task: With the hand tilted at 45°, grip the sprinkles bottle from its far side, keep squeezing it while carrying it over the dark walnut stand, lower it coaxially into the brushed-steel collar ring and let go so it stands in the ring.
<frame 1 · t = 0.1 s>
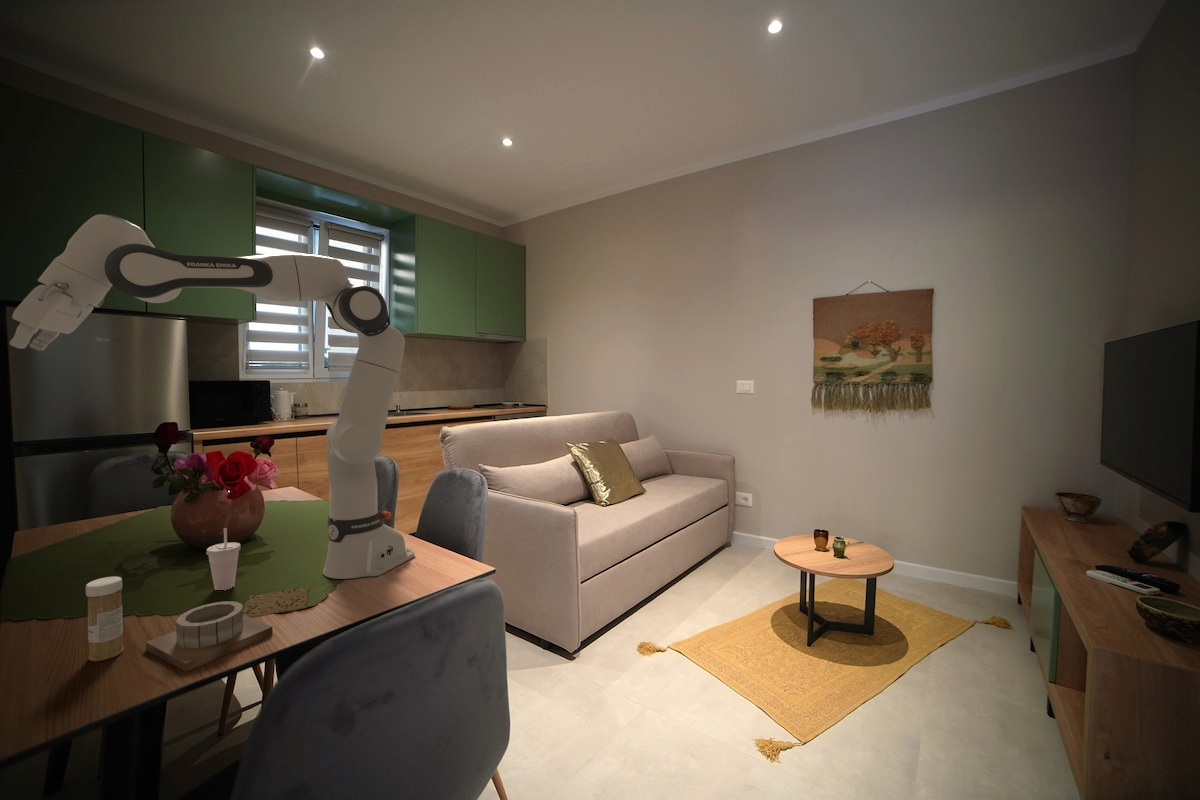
hand: (26, 348, 95), 54 cm above the table, tool tilted 30°, fingers open, 8 cm apart
collar stand: (211, 641, 94), on the table
sprinkles bottle: (106, 656, 89), on the table
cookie: (276, 605, 110), on the table
smoothie: (224, 588, 117), on the table
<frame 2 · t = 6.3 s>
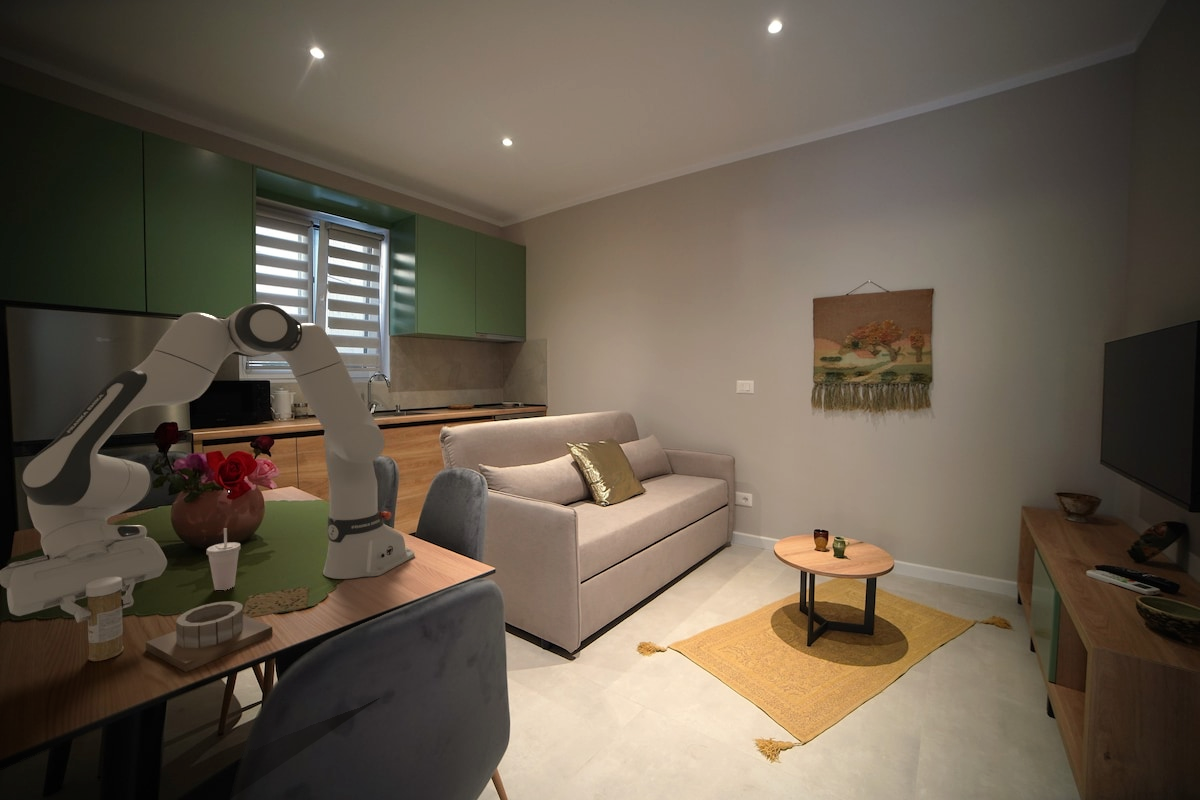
hand: (106, 612, 88), 8 cm above the table, tool tilted 45°, fingers closed on sprinkles bottle, 4 cm apart
sprinkles bottle: (106, 656, 89), on the table, touching gripper
everything else where it was.
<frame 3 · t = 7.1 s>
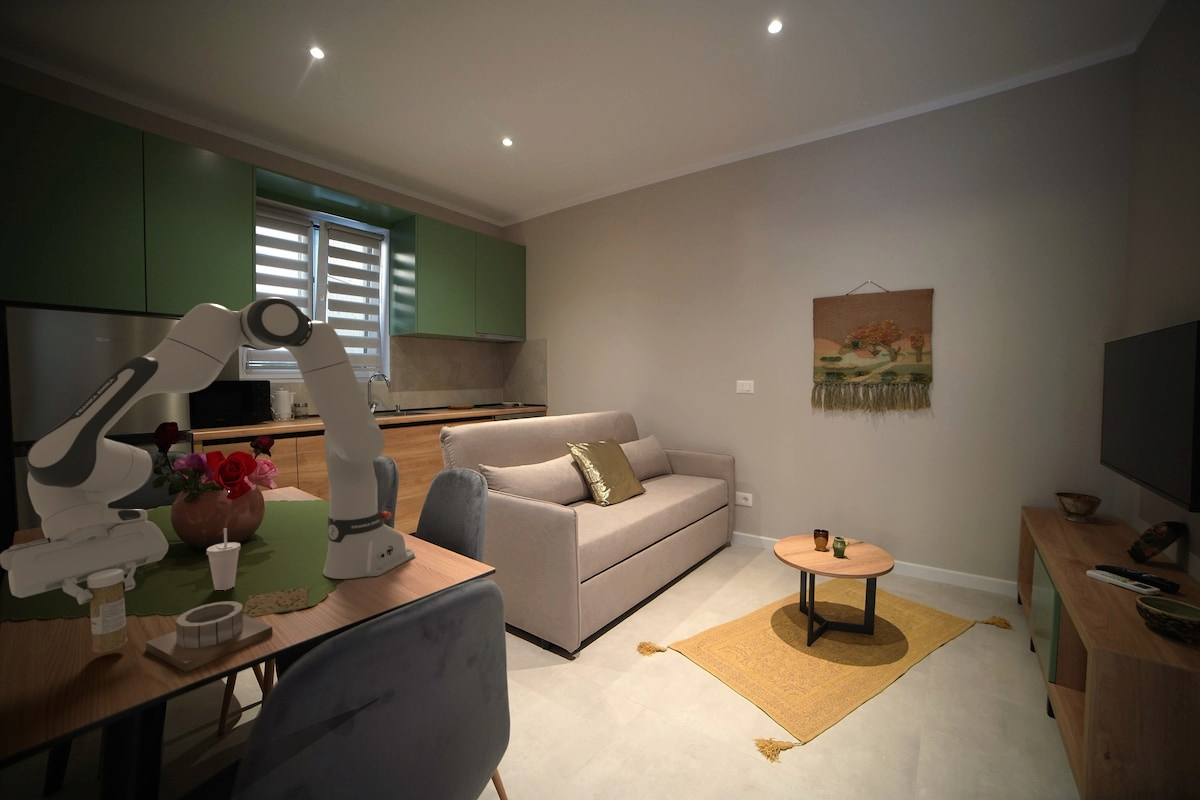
hand: (108, 594, 88), 11 cm above the table, tool tilted 45°, fingers closed on sprinkles bottle, 4 cm apart
sprinkles bottle: (110, 647, 89), point 1 cm above the table, touching gripper
everything else where it was.
when the fingers open (11 cm above the table, at t = 11.5 s): sprinkles bottle stays where it is, resting on collar stand.
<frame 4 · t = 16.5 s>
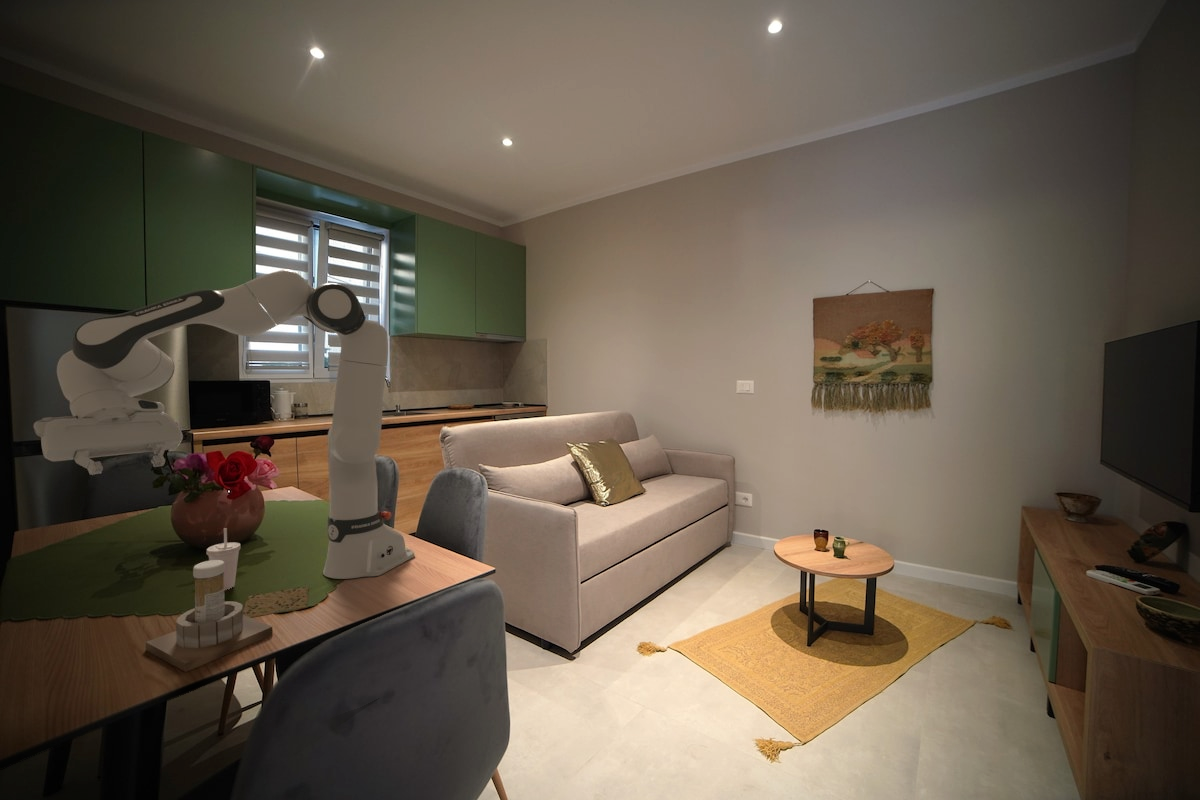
hand: (129, 468, 97), 31 cm above the table, tool tilted 45°, fingers open, 8 cm apart
sprinkles bottle: (210, 635, 93), point 1 cm above the table, touching collar stand
everything else where it was.
at the end: sprinkles bottle 0.1 cm off-centre on the collar stand, point 1.3 cm above the collar stand's base; sprinkles bottle tilted 0°; the gripper is holding nothing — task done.
